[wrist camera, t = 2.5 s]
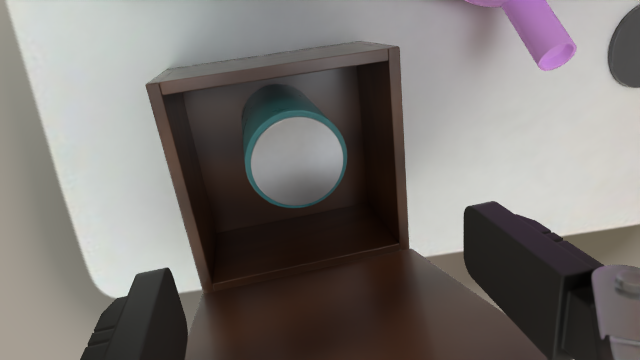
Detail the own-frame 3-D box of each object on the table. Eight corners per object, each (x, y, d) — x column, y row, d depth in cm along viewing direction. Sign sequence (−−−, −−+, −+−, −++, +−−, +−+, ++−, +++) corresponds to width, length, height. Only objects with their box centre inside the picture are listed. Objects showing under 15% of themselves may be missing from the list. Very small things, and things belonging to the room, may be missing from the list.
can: (225, 124, 30) (222, 169, 21) (275, 67, 29) (295, 87, 20) (281, 169, 32) (300, 229, 23) (329, 117, 31) (369, 157, 22)
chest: (166, 68, 28) (144, 84, 21) (360, 40, 30) (399, 46, 23) (209, 238, 33) (203, 295, 26) (374, 205, 35) (409, 250, 28)
